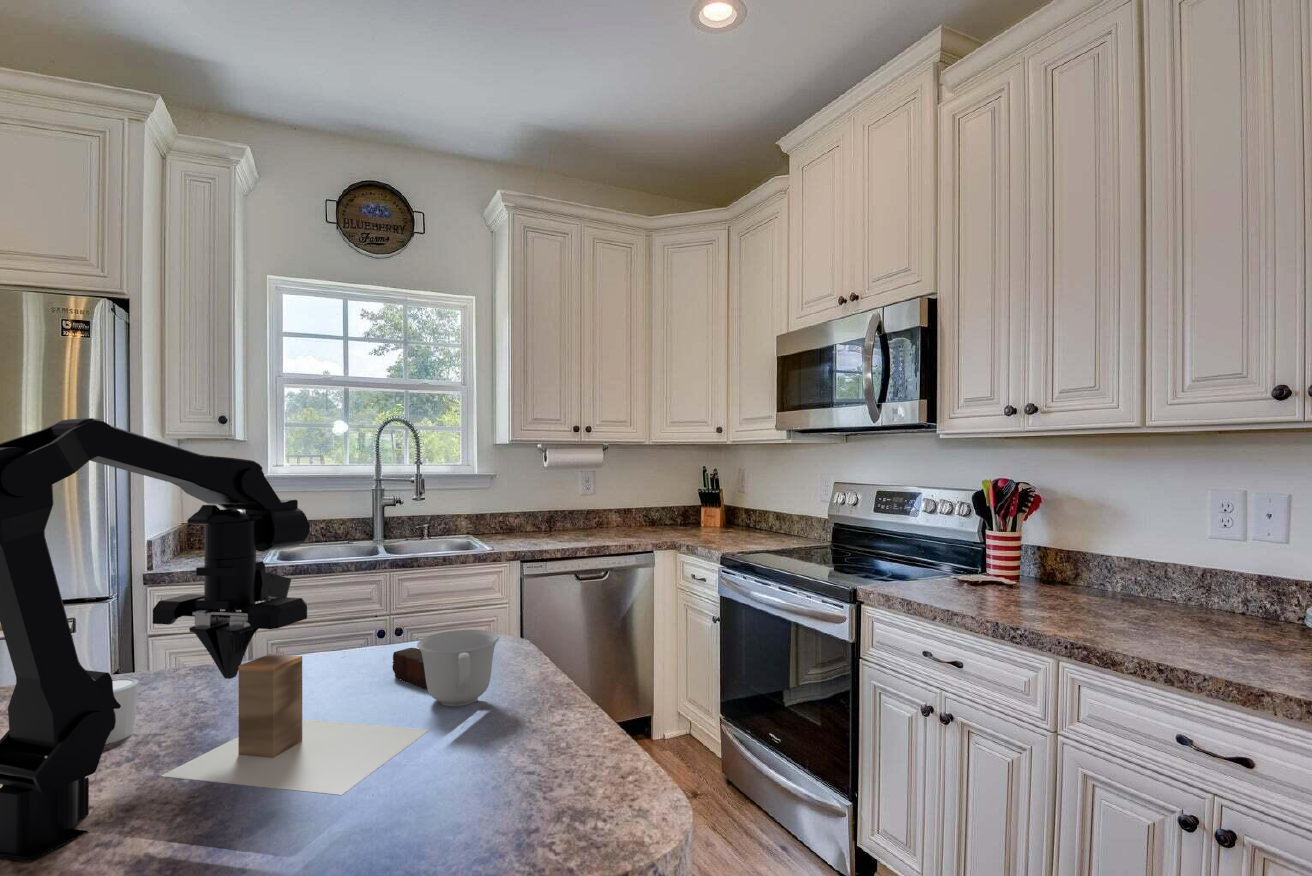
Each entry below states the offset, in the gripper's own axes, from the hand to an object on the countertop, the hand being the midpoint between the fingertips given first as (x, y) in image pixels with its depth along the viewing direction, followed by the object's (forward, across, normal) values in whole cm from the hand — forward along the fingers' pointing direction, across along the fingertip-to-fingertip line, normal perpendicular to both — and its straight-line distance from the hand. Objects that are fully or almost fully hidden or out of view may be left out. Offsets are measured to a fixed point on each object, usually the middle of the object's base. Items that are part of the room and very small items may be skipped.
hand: (230, 677), depth 88 cm
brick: (+10, -9, -30) cm, 33 cm away
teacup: (+10, -22, -19) cm, 31 cm away
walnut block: (+8, -6, 0) cm, 10 cm away
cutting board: (+10, -11, 0) cm, 15 cm away
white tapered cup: (+10, +21, -1) cm, 23 cm away
